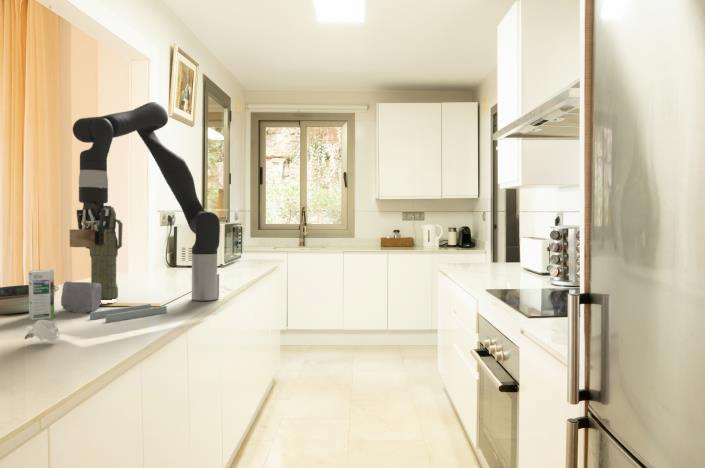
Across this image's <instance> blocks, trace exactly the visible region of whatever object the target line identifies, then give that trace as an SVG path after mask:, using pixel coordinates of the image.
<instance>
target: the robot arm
mask: <svg viewBox="0 0 705 468" xmlns="http://www.w3.org/2000/svg"><path fill="white" fill-rule="evenodd" d="M168 121H169V116H168V113H167V110H166V109H165V107H164V106H163V105H162V104H160V103H159V102H155V101H151V102H148V103H145V104H143V105H141V106H138V107H135V108H134V109H132V110H127V111H121V112H115V113H110V114H106V115H102V116H91V117H83V118H82V117H81V118H79V119H77V120H76V121H75V122H74V123H73V125H72V133H73V136H74V137H75V138H76V139H77V140H78V141H79V142H81V143H87V144H88V143H89V144H90V143H91V144H92V145H91V146H90V148H88V149H85V150H82V151H81V152H80V154H79V176H78V201H79V203H81V204H83V205H82V209H76V218H77V227H78V229H92V228H93V225H94V227H95V231H96V232H95V244H96V245H103V244H104V232H105V231H106V230H108V229H109V226H110V217H111V210H110V209H105V208H104V206H105V204H108V202H109V178H108V156H109V153H110V149H111V146H112V142H113V139H114V138H119V137H123V136H125V135H128V134H132V133H133V132H137V134H138V136H139V137H140V138H141V140H142V141H143V143H144V144H145V146H146V148H147V149H148V151H149V152H150V154H151V156H152V158H153V159H154V161H155V163H156V164H157V167H158V169H159V170H160V172H161V175H162V177H163V178H164V180H165V182H166V184H167V185H168V187H169V189H170V191H171V192H172V195H173V196H174V197H175V200H176V201H177V203H178V204H179V206H180V209H181V210H182V213H183V215H184V218H185V220H186V222H187V225H188V227H189V229H190V231H192V233H193V234H195V242H194V244H193V245H192V247H191V300H192V301H198V302H199V301H200V302H201V301H214V300H215V301H216V300H217V299H220V273H218V249H219V246H220V234H221V231H220V230H221V224H220V219H219V217H218V215H217V214H216V213H214V212H213V211H207V210H206V209H204V207H203V206H202V204H201V201H200V200H199V198H198V196H197V192H196V191H197V190H196V187H195V186H196V184H195V181H194V177H193V174H192V172H191V170H190V168H189V167H188V165H187V162H186V161H185V160H184V158H182V156H180V155H179V154H177V152H175V151H173V150H172V149H171V148H169V147H167V146H166V145H165V144H164V143H162V141H161V140H160V139H159V137H158V136H157V133H156V132H155V131H158V130H159V129H161V128H163V127H165V126H166V125H167V124H168ZM105 221H106V225H104V224H105ZM88 225H89V226H88ZM98 225H99V227H98Z"/></svg>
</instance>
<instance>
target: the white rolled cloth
mask: <svg viewBox="0 0 705 468" xmlns="http://www.w3.org/2000/svg"><path fill="white" fill-rule="evenodd" d="M34 337H36V338H38V339H39V340H40V341H43V340H47V341H56V340H58V339H59V337H60V329H59V327H58V325H57V324H56V322H53V321H51V320H48V319H40V320H36V321H35V323H34V324H33V325H32V328H28V332H27V334H26V335H25V336H24V339H25V340H27V339H31V338H32V339H33V338H34Z"/></svg>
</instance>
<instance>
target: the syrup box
mask: <svg viewBox="0 0 705 468" xmlns="http://www.w3.org/2000/svg"><path fill="white" fill-rule="evenodd" d="M28 318H29V319H30V320H31V321H37V320H48V319H49V320H50V319H54V318H55V272H54V270H53V269H39V270H38V269H35V270H34V269H33V270H31V269H30V270H29V271H28Z"/></svg>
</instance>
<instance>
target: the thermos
mask: <svg viewBox="0 0 705 468" xmlns="http://www.w3.org/2000/svg"><path fill="white" fill-rule="evenodd" d="M104 208H105V209H110V210H111V217H110V226H109V229H108V230H106V247H85V249H88V250H89V257H90V258H91V259H90V264H91V265H90V266H91V267H90V270H91V271H90V272H91V273H90V274H91V275H90V277H91V278H90V279H91V280H90V281H91V282H90V283H99V284H101V300H112V299H116V298H117V299H118V297H119V287H118V283H117V257H118V255H119V253H118V252H119V251H118V250H120V249H121V248H122V247H123V225H124V224H123V222H122V221H121V220H120V219H117V215H116V211H115V208H114V206H113V207H112V205H104ZM117 224H118V231H116V228H117ZM104 225H106V221H105V224H104ZM88 226H89V225H88ZM98 227H99V225H98ZM92 229H95V227H94V225H93V228H92ZM117 233H118V237H117Z"/></svg>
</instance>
